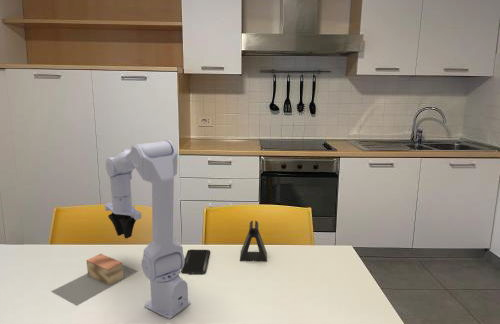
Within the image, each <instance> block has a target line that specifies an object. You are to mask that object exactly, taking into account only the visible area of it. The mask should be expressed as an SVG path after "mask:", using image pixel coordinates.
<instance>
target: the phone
mask: <svg viewBox="0 0 500 324" xmlns="http://www.w3.org/2000/svg"><path fill="white" fill-rule="evenodd" d="M210 255H211V250H210V249H188V250H187V252H186V254H185V256H184V259H185V263H184V267H183V268H182V269H180V274H184V275H196V276H197V275H205V274H206V273H207V271H208V270H207V269H208V265H209V261H210Z"/></svg>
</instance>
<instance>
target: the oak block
mask: <svg viewBox="0 0 500 324" xmlns="http://www.w3.org/2000/svg"><path fill="white" fill-rule="evenodd" d="M122 265H123V262H122V261H120V260H117V259H115V258H112V257H110V256H108V255H105V254H103V253H98V254H97V255H95V256H92V257H90V258H88V259H86V270H87V273H88V275H89V276H91V277H93V278H95V279H97V280H99V281H101V282H104V283H106V284H108V285H111V284H112V283H114V282H116V281H118V280H120V279H121V278H123V268H122Z"/></svg>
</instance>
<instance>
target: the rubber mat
mask: <svg viewBox="0 0 500 324" xmlns="http://www.w3.org/2000/svg"><path fill="white" fill-rule="evenodd" d="M122 268H123V278H121V279H120V280H118V281H116V282H114V283H112V284H111V285H108V284H106V283H104V282H101V281H99V280H97V279H95V278H93V277H91V276H89V275H88V272H87V273H85V274H84V275H81V276H80V277H77V278H75V279H73V280H72V281H69V282H66V283H65V284H62V285H61V286H59V287H57V288H55V289H53V290H51V293H53V294H55V295H57V296H58V297H60V298H62V299H63V300H65V301H68V302H70V303H71V304H73V305H75V306H76V307H77V306H79V305H81V304H83V303H85V302H86V301H88V300H90V299H92V298H93V297H96V296H97V295H99V294H101V293H102V292H104V291H106V290H108V289H110V288H111V287H114V286H115V285H117V284H119V283H121V282H122V281H124V280H125V279H127V278H130V277H132V276H133V275H134V274H137V273H138V272H139V270H136V269H134V268H132V267H129V266H127V265H124V264H122Z"/></svg>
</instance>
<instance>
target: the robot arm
mask: <svg viewBox="0 0 500 324" xmlns="http://www.w3.org/2000/svg"><path fill="white" fill-rule="evenodd" d="M105 168H106V169H105V170H106V173H107V175H108V177H109V180H110V191H111V192H110V193H111V194H110V195H111V202H108V203H106V204H104V210H105V211H106V212H109V211H110V214H108V216H107V217H108V219H109V220H110V221H111V223H112V225H113V228H114V230H115V232H116V235H117V236H118V237H119V236H123V237H124V238H125V239H128V238H130V237H132V236H133V230H134V227H135V225H136V221H139V220H140V219H142V212H141V211H139V210H138V209H137V208H135V204H133V201H132V199H133V198H132V187H131V186H132V185H131V184H132V183H131V180H132V178H133V177H132V176H133V170H136V171H137V173H138V174H139V176H140V177H141V179H142V180H143V181H146V182H148V183H151V188H152V189H151V192H152V196H151V198H152V199H151V203H152V205H151V207H152V212H151V214H152V219H151V221H152V224H151V225H152V228H151V230H152V231H151V233H152V240H151V241H150V243H149V244H148V245H146V247H145V248H144V249H143V255H142V259H141V269H142V273H143V274H144V276H145V277H146V278H147V279H148V280H149V281H150V283H149V286H150V298H151V300H149V301H148V302H146V303H145V304H144V308H146V309H148V310H151V311H152V312H154V313H157V314H159V315H160V316H163V317H165V318H166V319H172V318H174V316H176V315H177V314H179V313H180V312H181V311H183V310H184V309H185V308H187V307H188V306H189V305H190V304H191V301H189V292H188V291H189V290H188V287H189V286H188V283H187V281H186V280H185V279H183V278H182V277H181V276H180V275H179V274H181V269H182V268H183V267H184V263H185V256H184V249H183V246H182V244H181V243H180V241H178V240H176V239H174V191H175V190H174V189H175V188H174V187H175V184H174V183H175V182H174V181H175V180H174V179H175V176H176V175H177V174H178V151H177V149H176V147H175V145H174V143H173V142H172V141H171V140H170V139H167V140H163V141H162V140H161V141H155V142H154V141H153V142H147V143H135V144H133V145H131V148H130V149H129V148H123V149H121V152H119V153H117V154H116V156H113V157H112V156H108V157H107V158H106V160H105Z"/></svg>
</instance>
